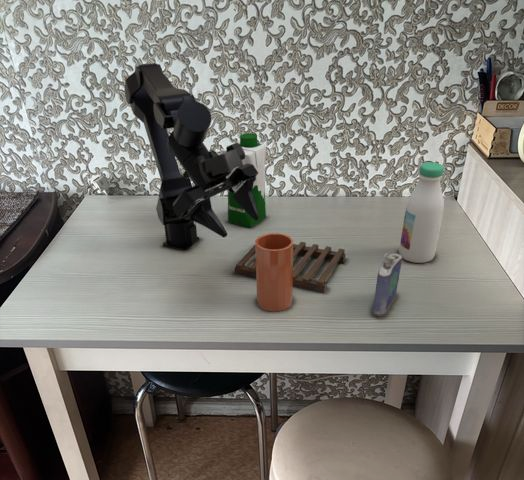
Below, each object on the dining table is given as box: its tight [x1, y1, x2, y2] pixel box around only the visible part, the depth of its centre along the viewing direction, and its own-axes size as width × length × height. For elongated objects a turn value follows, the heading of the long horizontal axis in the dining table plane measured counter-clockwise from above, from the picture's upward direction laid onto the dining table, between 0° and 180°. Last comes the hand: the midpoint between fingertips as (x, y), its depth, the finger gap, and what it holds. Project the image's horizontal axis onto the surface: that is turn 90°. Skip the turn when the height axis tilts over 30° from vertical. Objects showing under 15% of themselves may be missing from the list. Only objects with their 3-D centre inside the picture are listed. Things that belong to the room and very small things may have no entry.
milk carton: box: [221, 132, 267, 229], centre depth 129 cm, size 9×9×20 cm
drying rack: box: [234, 241, 347, 294], centre depth 115 cm, size 20×15×2 cm
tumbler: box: [254, 232, 294, 312], centre depth 101 cm, size 7×7×13 cm
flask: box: [372, 252, 403, 318], centre depth 100 cm, size 9×3×11 cm, turn 151°
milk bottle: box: [398, 161, 445, 264], centre depth 112 cm, size 8×8×20 cm
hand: (242, 227), depth 101 cm, fingers open, 9 cm apart
